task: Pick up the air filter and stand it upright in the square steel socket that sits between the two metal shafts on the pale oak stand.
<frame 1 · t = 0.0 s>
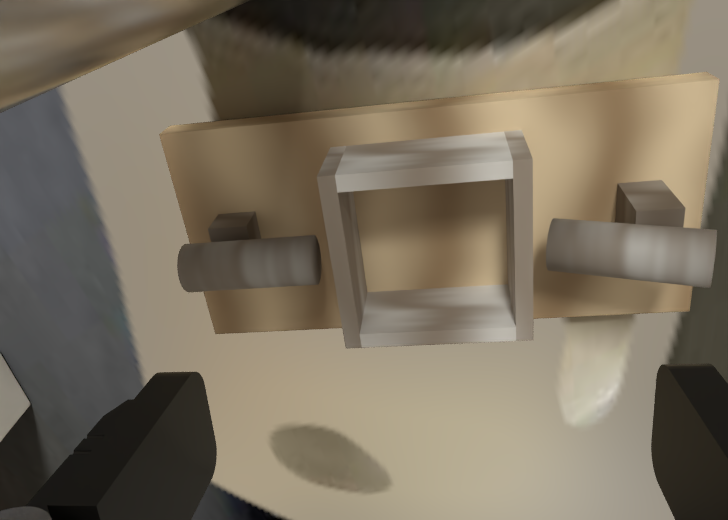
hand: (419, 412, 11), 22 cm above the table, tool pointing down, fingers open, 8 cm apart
coupling stand: (431, 213, 34), on the table
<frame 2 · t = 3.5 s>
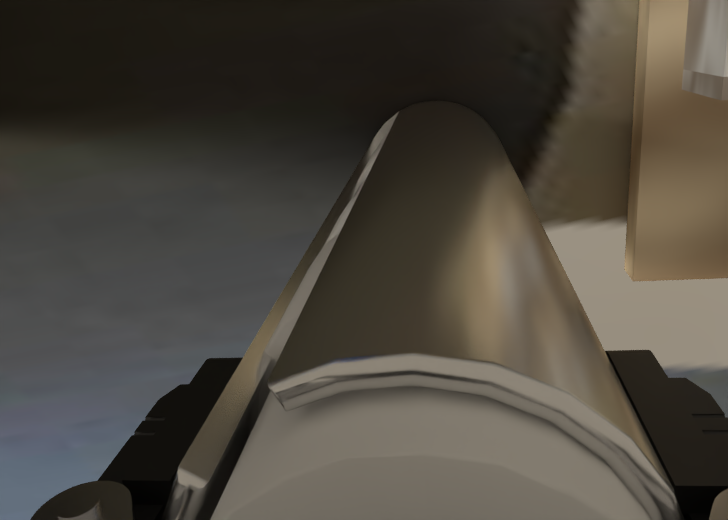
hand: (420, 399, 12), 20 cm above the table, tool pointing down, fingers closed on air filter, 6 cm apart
air filter: (434, 169, 30), on the table, touching gripper
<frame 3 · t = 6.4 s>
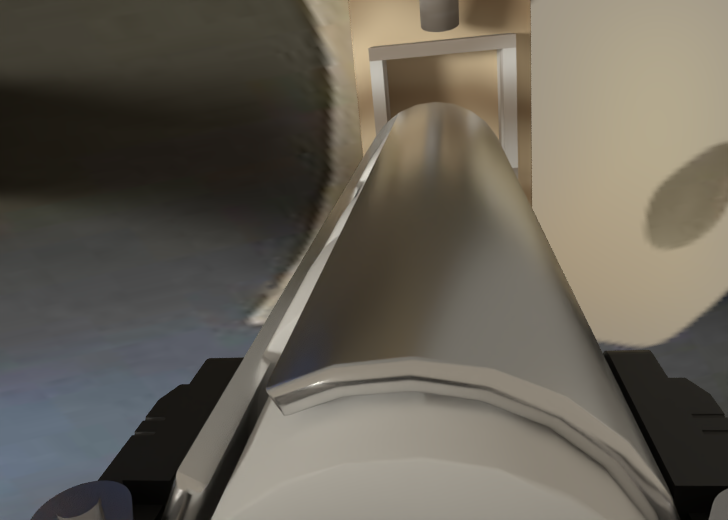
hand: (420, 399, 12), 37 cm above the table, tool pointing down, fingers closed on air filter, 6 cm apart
air filter: (434, 170, 30), point 17 cm above the table, touching gripper
coupling stand: (443, 105, 46), on the table
when the fingers open (23 cm above the table, at t = 9.6 s): air filter drops 1 cm, resting on coupling stand.
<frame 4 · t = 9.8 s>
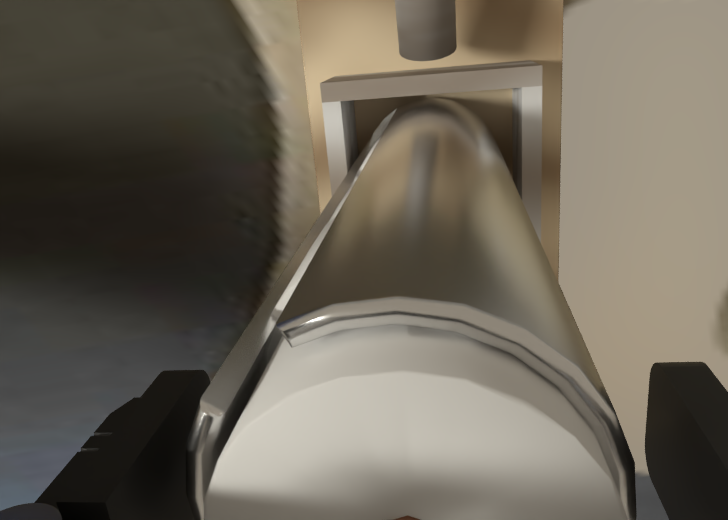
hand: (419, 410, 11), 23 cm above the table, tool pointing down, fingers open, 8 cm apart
air filter: (431, 163, 32), point 1 cm above the table, touching coupling stand
coupling stand: (435, 158, 33), on the table
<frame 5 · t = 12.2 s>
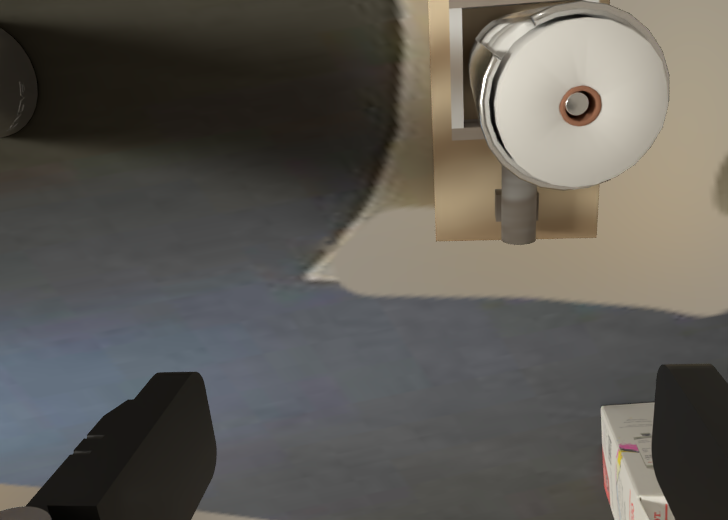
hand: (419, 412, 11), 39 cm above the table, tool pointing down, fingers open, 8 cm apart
air filter: (514, 62, 45), point 1 cm above the table, touching coupling stand
coupling stand: (514, 61, 46), on the table
ink cartridge box: (630, 442, 55), on the table
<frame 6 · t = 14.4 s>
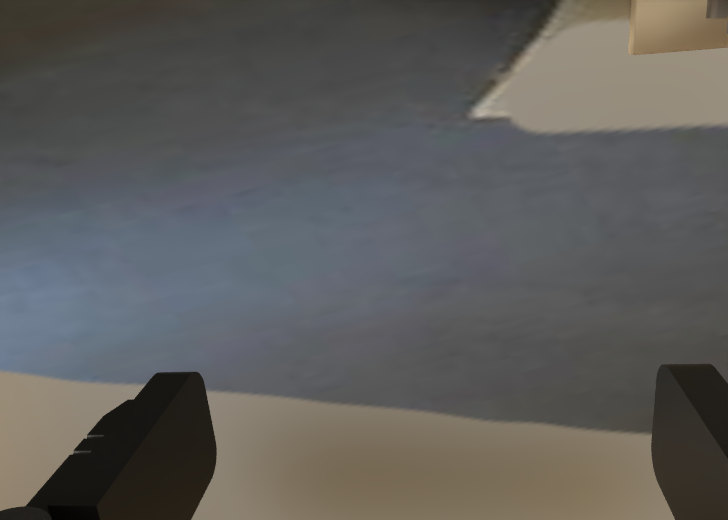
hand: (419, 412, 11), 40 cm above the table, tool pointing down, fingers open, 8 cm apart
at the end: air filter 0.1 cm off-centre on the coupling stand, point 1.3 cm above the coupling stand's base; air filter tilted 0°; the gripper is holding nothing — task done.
